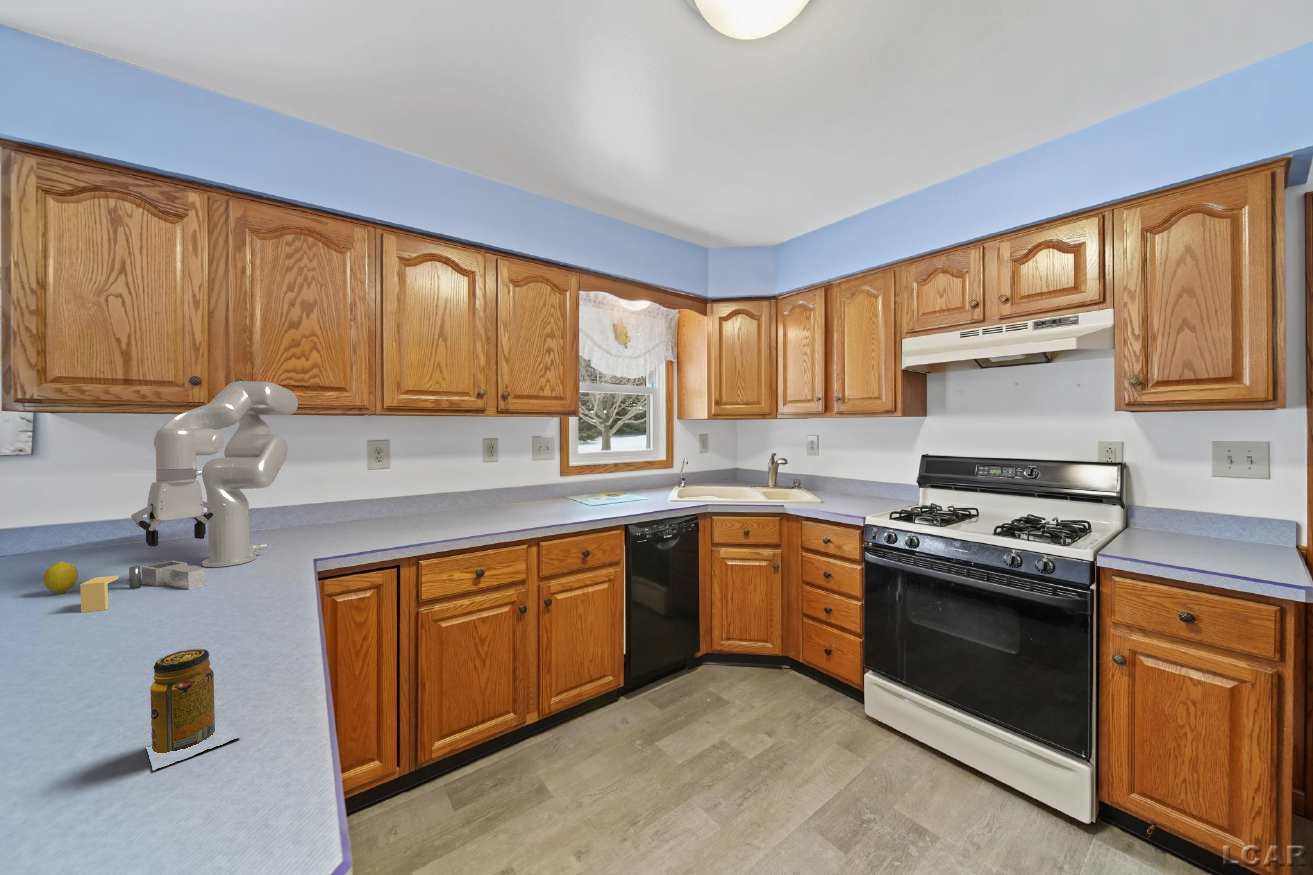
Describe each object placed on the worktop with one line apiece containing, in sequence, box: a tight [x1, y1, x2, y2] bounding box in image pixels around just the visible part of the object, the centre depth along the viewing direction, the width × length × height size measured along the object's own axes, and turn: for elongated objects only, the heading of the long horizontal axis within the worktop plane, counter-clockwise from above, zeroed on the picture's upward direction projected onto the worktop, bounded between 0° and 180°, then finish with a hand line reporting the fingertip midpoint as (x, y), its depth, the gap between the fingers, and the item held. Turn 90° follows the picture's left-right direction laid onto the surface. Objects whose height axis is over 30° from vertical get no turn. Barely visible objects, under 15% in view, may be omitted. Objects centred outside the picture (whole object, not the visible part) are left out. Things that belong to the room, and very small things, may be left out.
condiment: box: [149, 648, 216, 753], centre depth 67 cm, size 7×8×12 cm
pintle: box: [128, 565, 142, 590], centre depth 130 cm, size 2×2×6 cm
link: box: [141, 560, 206, 590], centre depth 134 cm, size 18×7×4 cm, turn 68°
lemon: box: [43, 561, 79, 595], centre depth 126 cm, size 6×6×8 cm
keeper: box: [79, 575, 119, 613], centre depth 117 cm, size 6×4×6 cm
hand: (176, 542), depth 132 cm, fingers open, 9 cm apart
